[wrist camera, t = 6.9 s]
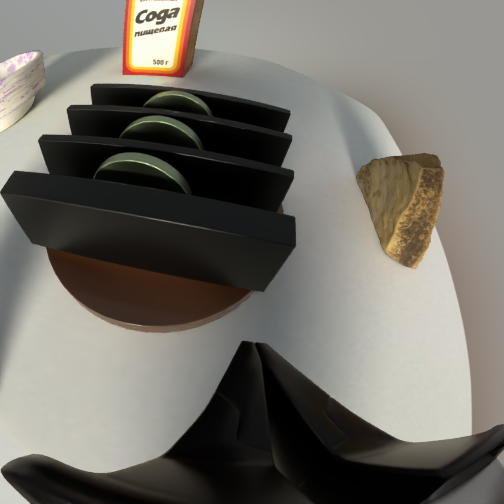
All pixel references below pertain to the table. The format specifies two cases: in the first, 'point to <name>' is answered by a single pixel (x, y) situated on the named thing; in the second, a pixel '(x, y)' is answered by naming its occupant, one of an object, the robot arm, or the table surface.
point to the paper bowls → (19, 85)
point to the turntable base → (143, 294)
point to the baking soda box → (160, 36)
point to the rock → (403, 202)
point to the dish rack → (165, 185)
